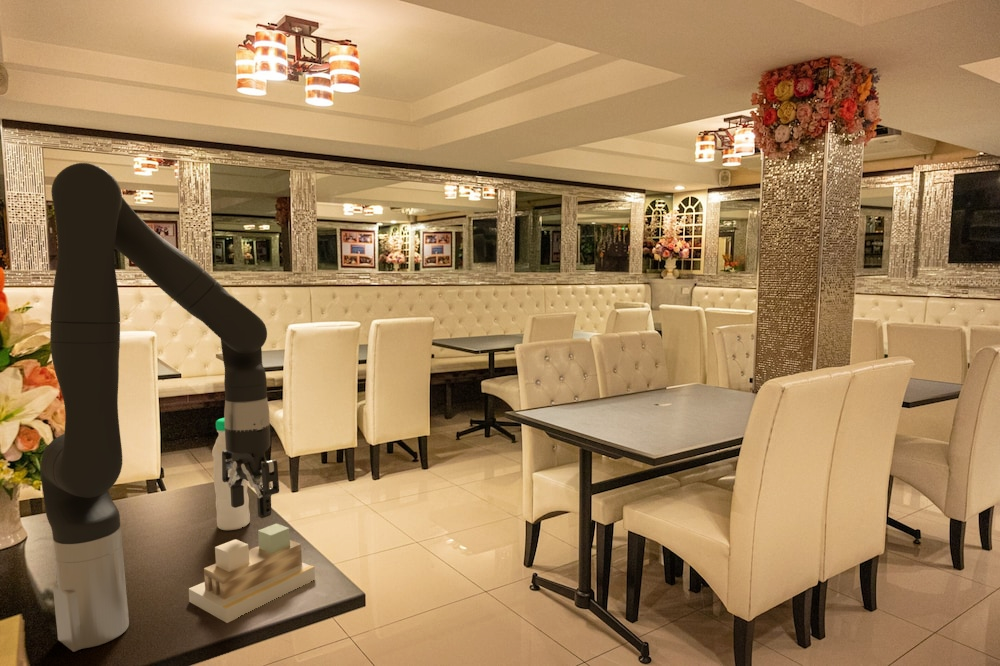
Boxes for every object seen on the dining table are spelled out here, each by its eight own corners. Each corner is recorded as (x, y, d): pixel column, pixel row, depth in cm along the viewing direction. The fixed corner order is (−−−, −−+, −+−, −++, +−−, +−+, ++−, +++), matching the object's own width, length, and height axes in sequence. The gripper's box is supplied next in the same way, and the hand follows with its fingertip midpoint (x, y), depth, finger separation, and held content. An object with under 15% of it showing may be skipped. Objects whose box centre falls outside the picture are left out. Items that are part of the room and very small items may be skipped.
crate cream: (228, 571, 114) (227, 552, 114) (216, 565, 117) (214, 547, 116) (249, 563, 117) (248, 544, 117) (236, 557, 120) (235, 539, 119)
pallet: (224, 599, 113) (222, 577, 112) (205, 589, 116) (203, 568, 116) (301, 564, 125) (300, 544, 125) (282, 556, 129) (281, 536, 129)
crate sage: (271, 553, 121) (270, 535, 121) (259, 548, 123) (257, 530, 123) (290, 545, 124) (289, 528, 124) (277, 540, 127) (276, 523, 126)
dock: (227, 623, 110) (226, 608, 110) (189, 601, 117) (188, 588, 117) (315, 579, 124) (314, 566, 124) (276, 563, 131) (276, 551, 131)
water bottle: (217, 522, 153) (210, 416, 150) (250, 517, 156) (243, 413, 153) (216, 533, 146) (208, 424, 144) (250, 528, 149) (243, 420, 146)
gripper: (206, 422, 119) (210, 509, 120) (251, 433, 110) (255, 527, 112) (244, 414, 125) (247, 497, 126) (289, 425, 116) (292, 513, 118)
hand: (251, 511), depth 119 cm, fingers open, 8 cm apart
